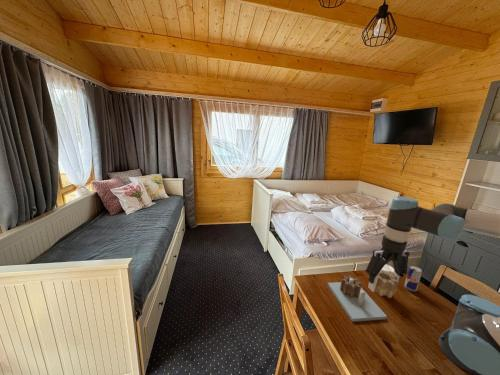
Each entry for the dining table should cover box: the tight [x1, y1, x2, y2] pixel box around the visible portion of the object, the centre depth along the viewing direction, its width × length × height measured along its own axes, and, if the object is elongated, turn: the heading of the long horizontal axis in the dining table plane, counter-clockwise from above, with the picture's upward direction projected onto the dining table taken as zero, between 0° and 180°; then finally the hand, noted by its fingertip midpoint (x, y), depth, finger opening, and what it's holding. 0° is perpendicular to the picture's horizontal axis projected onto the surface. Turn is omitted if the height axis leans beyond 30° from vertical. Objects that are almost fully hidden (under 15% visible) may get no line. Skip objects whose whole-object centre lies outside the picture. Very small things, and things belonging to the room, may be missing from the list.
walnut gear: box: [340, 275, 362, 298], centre depth 103 cm, size 9×9×6 cm
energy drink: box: [403, 265, 423, 293], centre depth 108 cm, size 5×5×12 cm
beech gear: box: [374, 270, 400, 299], centre depth 82 cm, size 9×9×6 cm
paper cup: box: [376, 264, 396, 295], centre depth 105 cm, size 8×8×14 cm
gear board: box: [327, 278, 388, 322], centre depth 99 cm, size 22×16×8 cm
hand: (381, 288), depth 83 cm, fingers closed on beech gear, 9 cm apart
